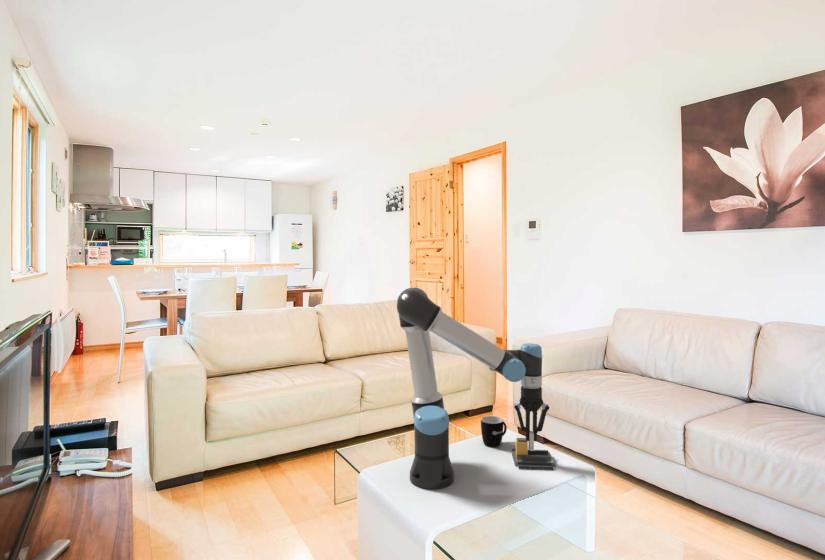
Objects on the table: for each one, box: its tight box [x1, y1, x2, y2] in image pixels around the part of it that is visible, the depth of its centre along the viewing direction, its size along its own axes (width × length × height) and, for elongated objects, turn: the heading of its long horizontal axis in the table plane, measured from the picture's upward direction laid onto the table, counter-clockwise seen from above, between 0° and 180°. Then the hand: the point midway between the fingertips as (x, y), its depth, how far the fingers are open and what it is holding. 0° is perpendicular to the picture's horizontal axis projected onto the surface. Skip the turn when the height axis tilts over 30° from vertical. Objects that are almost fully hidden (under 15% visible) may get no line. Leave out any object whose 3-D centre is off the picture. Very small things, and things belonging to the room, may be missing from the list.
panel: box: [511, 448, 556, 468], centre depth 174 cm, size 14×10×3 cm
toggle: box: [515, 437, 529, 458], centre depth 175 cm, size 4×3×7 cm
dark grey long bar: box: [518, 465, 555, 471], centre depth 168 cm, size 12×1×1 cm, turn 85°
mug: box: [480, 415, 507, 448], centre depth 191 cm, size 12×9×10 cm
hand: (531, 449), depth 174 cm, fingers closed
